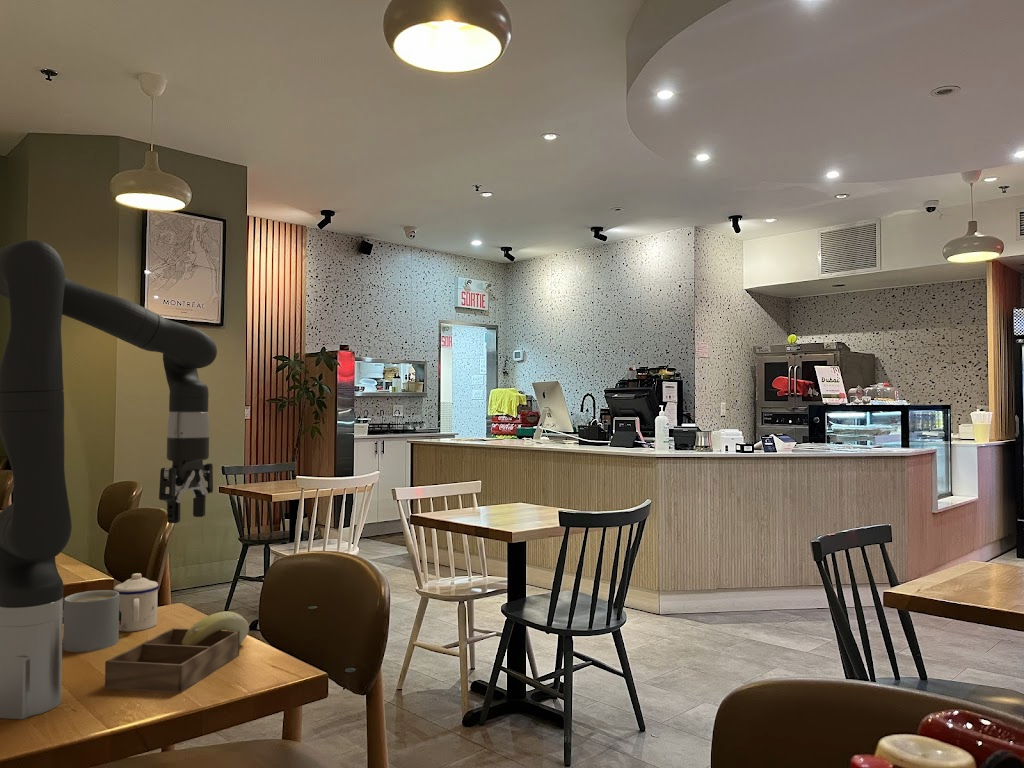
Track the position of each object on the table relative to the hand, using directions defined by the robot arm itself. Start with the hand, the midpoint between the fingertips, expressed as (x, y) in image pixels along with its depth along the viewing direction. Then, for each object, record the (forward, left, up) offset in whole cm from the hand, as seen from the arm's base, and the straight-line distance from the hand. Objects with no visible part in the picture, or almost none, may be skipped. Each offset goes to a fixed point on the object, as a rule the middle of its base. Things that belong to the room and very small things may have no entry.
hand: (186, 519), depth 145 cm
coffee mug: (+9, +26, -28) cm, 39 cm away
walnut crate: (-5, -2, -27) cm, 28 cm away
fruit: (-3, -2, -23) cm, 24 cm away
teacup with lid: (+19, +23, -28) cm, 41 cm away
